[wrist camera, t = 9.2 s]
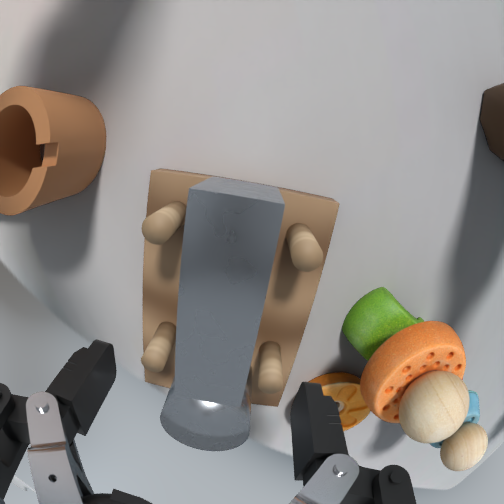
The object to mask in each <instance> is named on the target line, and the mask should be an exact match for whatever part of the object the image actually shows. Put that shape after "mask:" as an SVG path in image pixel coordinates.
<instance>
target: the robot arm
mask: <svg viewBox="0 0 504 504" xmlns="http://www.w3.org/2000/svg"><path fill="white" fill-rule="evenodd" d="M115 378H116V363H115V356H114V348H113V345H112V344H110V343H106V342H103V341H100V340H94V341H93V343H92V344H91V345H90V347H89V348H88V349H87V348H84V347H83V348H81V349H80V350H78V351H77V352H75V353H74V354H73V355H72V356H71V358H70V359H69V360H68V362H67V363H66V364H65V366H64V368H62V370H61V371H60V372H59V374H58V375H57V376H56V378H55V379H54V380H53V382H52V383H51V384H50V386H49V387H48V389H47V390H46V391H45V392H37V393H34V394H32V395H31V396H30V397H23V396H18V395H13V394H11V392H10V390H9V388H8V387H7V386H6V385H4V384H2V383H0V504H5V502H4V500H3V499H4V497H5V495H6V493H7V490H8V488H9V485H10V483H11V481H12V479H13V477H14V474H15V472H16V470H17V468H18V466H19V464H20V461H21V459H22V457H23V455H24V453H25V451H26V449H27V447H28V445H29V444H31V448H28V458H29V464H30V469H31V473H32V477H33V482H34V486H35V490H36V494H37V497H38V501H39V504H152V503H150V502H148V501H146V500H144V499H142V498H140V497H137V496H134V495H131V494H127V493H124V492H121V491H119V490H116V489H113V492H112V494H103V493H102V494H94V492H93V490H92V488H91V486H90V484H89V482H88V479H87V477H86V475H85V472H84V469H83V466H82V463H81V460H80V457H79V454H78V451H77V447H76V443H75V440H74V437H75V436H76V433H79V434H82V435H84V436H86V434H87V432H88V430H89V428H90V426H91V424H92V422H93V420H94V418H95V416H96V415H97V412H98V411H99V409H100V407H101V405H102V403H103V401H104V400H105V397H106V396H107V394H108V392H109V390H110V388H111V387H112V385H113V383H114V381H115ZM339 415H340V414H339V410H338V406H337V404H336V403H335V401H334V400H333V398H332V397H331V396H324V395H323V390H322V386H321V384H320V383H310V382H302V383H301V385H300V388H299V390H298V393H297V395H296V397H295V400H294V402H293V405H292V408H291V431H292V446H293V461H294V476H295V480H303V485H304V487H303V489H302V490H301V491H300V492H299V493H298V494H297V495H296V496H295V498H294V499H293V500H292V501H291V502H290V503H289V504H416V500H415V496H414V492H413V487H412V483H411V479H410V476H409V474H408V472H407V471H406V470H405V469H404V468H403V467H401V466H398V465H389V466H386V467H384V468H383V469H382V470H381V471H380V470H374V469H369V468H365V467H361V466H359V465H358V464H357V462H356V461H355V460H354V459H353V458H352V457H350V456H349V454H348V450H347V446H346V441H345V437H344V432H343V428H342V425H341V419H340V417H339Z"/></svg>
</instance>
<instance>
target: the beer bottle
mask: <svg viewBox="0 0 504 504" xmlns="http://www.w3.org/2000/svg"><path fill="white" fill-rule="evenodd" d="M480 121H481V124H482V127H483V130H484V133H485V136H486V139H487V142H488V145H489V148H490V150H491V151H492V152H493V153H494V154H496V155H497V156H498V157H499V158H501V159H502V160H503V161H504V83H503V84H500V85H497V86H495V87H492V88H490V89H487V90H485V91H484V95H483V102H482V109H481V115H480Z"/></svg>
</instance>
